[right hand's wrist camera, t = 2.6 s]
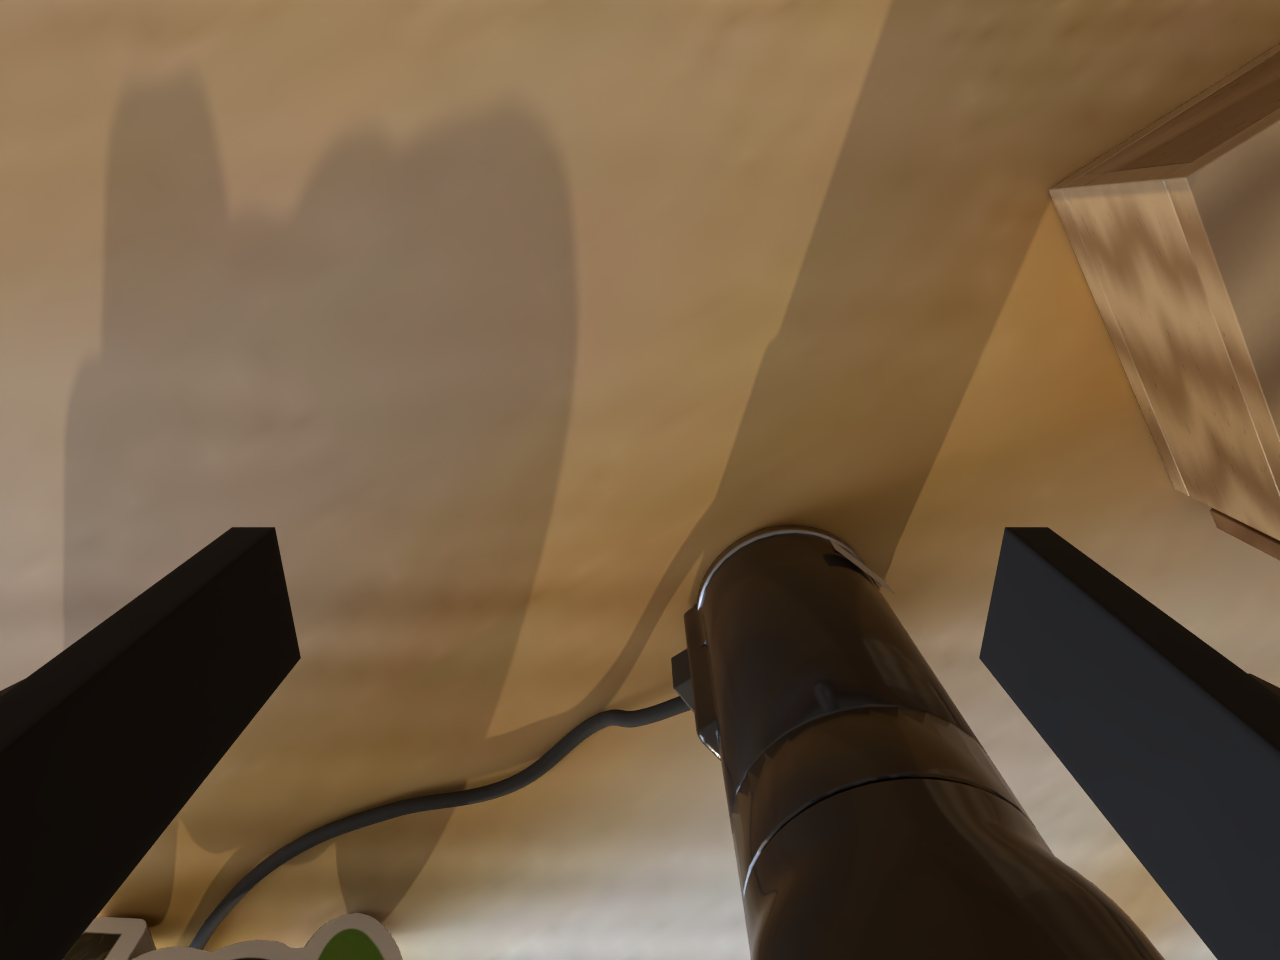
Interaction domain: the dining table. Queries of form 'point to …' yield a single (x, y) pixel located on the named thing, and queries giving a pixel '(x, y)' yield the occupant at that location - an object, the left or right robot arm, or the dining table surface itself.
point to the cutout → (334, 956)
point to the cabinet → (1196, 284)
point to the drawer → (1247, 533)
